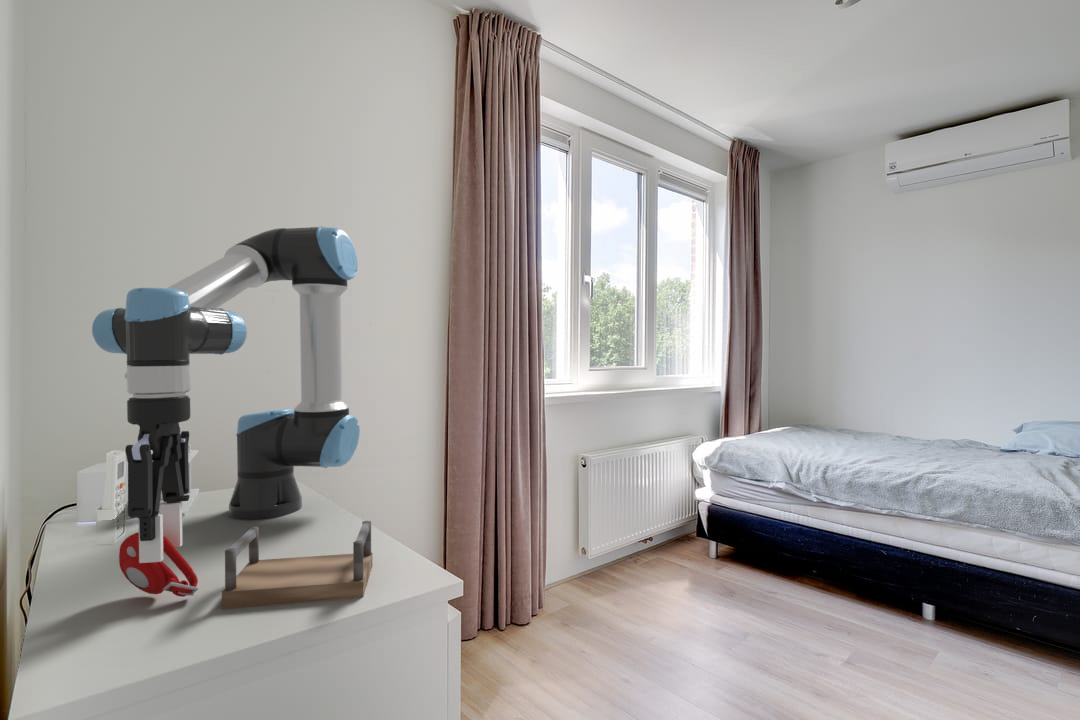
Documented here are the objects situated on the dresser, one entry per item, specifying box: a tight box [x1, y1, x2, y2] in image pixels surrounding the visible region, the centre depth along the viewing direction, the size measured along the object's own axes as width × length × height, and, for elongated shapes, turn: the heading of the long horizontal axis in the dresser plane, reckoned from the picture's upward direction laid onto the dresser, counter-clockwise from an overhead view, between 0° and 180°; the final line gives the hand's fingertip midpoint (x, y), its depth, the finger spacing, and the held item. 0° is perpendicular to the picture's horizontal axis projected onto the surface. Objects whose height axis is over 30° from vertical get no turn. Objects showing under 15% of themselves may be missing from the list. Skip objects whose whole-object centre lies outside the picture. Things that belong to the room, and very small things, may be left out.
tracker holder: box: [118, 531, 199, 598], centre depth 79 cm, size 12×4×10 cm, turn 74°
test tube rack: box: [181, 443, 200, 518], centre depth 131 cm, size 25×4×13 cm, turn 26°
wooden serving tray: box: [221, 520, 373, 610], centre depth 84 cm, size 12×19×8 cm, turn 101°
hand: (161, 553), depth 79 cm, fingers open, 5 cm apart
